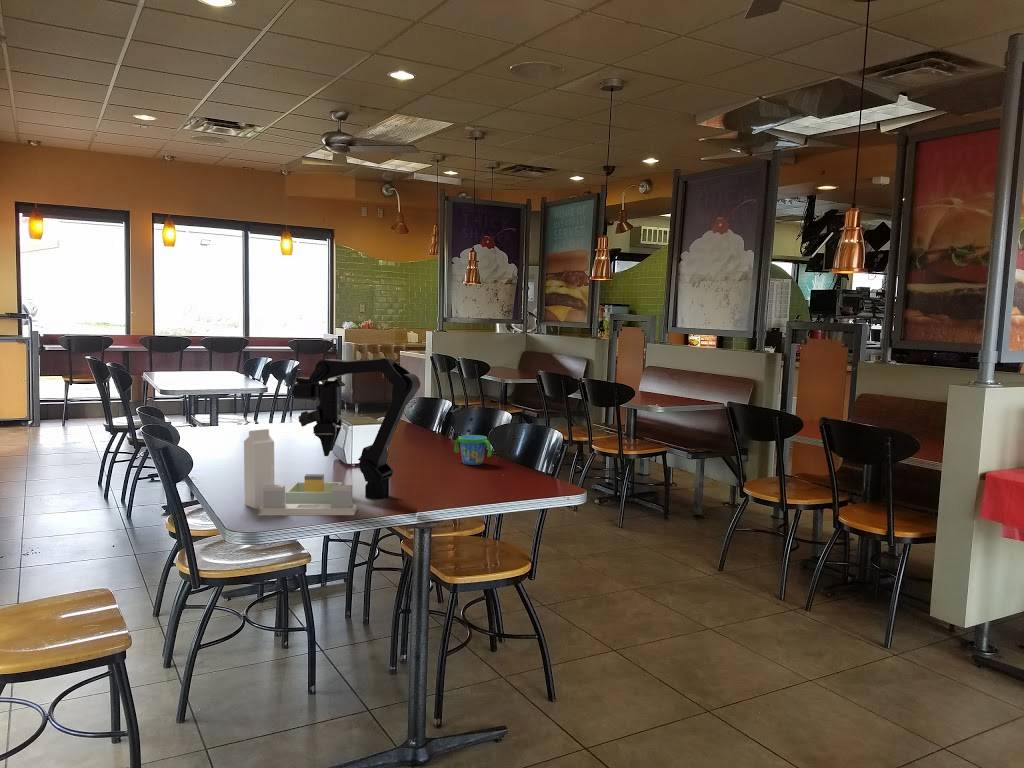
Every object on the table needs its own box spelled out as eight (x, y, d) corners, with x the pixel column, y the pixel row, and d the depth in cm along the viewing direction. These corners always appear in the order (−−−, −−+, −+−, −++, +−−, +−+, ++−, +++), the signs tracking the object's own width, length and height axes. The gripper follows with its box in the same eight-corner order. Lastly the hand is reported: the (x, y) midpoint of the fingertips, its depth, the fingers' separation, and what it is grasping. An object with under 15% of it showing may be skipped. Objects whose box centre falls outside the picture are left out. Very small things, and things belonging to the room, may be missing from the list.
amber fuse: (324, 497, 220) (324, 474, 220) (322, 500, 217) (322, 476, 217) (306, 497, 220) (306, 474, 219) (304, 500, 217) (304, 476, 216)
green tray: (341, 497, 226) (341, 482, 225) (334, 508, 212) (334, 492, 212) (295, 497, 225) (295, 482, 224) (285, 508, 211) (285, 492, 211)
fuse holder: (357, 512, 209) (357, 503, 208) (353, 518, 202) (353, 509, 201) (264, 512, 207) (263, 503, 206) (257, 518, 200) (257, 509, 200)
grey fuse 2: (352, 510, 206) (352, 484, 206) (350, 513, 203) (350, 487, 203) (333, 510, 206) (333, 484, 206) (331, 513, 203) (331, 487, 203)
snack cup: (497, 464, 282) (498, 437, 281) (479, 468, 274) (480, 440, 273) (466, 459, 292) (466, 433, 291) (447, 463, 283) (447, 436, 282)
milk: (274, 508, 211) (274, 430, 209) (254, 512, 207) (254, 432, 205) (264, 504, 215) (263, 427, 214) (243, 507, 211) (243, 429, 209)
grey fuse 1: (285, 510, 205) (284, 484, 205) (282, 513, 202) (282, 487, 202) (266, 510, 205) (266, 484, 204) (263, 513, 202) (263, 487, 201)
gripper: (305, 398, 233) (305, 448, 234) (295, 404, 214) (295, 459, 216) (342, 398, 234) (342, 448, 235) (335, 404, 216) (335, 459, 217)
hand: (328, 453), depth 226 cm, fingers open, 9 cm apart
